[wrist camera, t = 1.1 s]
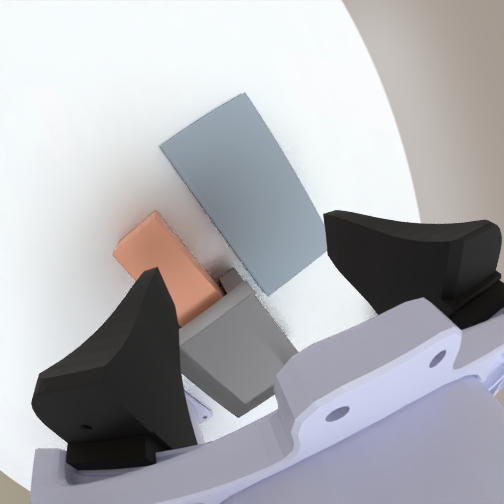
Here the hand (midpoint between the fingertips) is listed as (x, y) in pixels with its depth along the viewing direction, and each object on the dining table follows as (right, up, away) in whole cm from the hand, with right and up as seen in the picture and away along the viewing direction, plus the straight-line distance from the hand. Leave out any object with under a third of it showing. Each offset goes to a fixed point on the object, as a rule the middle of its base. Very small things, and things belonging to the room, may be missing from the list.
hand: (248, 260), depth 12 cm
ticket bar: (-6, -2, +13) cm, 14 cm away
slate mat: (0, +5, +13) cm, 14 cm away
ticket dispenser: (-2, -7, +16) cm, 17 cm away
